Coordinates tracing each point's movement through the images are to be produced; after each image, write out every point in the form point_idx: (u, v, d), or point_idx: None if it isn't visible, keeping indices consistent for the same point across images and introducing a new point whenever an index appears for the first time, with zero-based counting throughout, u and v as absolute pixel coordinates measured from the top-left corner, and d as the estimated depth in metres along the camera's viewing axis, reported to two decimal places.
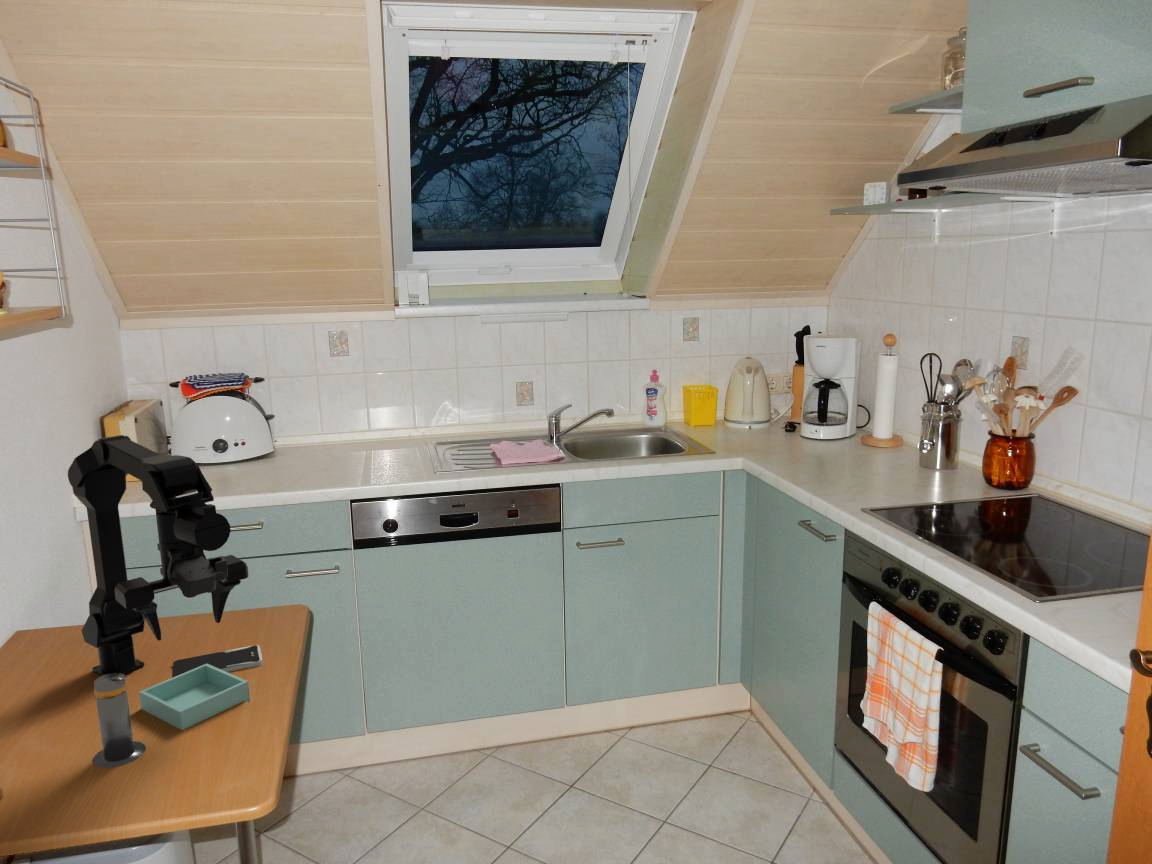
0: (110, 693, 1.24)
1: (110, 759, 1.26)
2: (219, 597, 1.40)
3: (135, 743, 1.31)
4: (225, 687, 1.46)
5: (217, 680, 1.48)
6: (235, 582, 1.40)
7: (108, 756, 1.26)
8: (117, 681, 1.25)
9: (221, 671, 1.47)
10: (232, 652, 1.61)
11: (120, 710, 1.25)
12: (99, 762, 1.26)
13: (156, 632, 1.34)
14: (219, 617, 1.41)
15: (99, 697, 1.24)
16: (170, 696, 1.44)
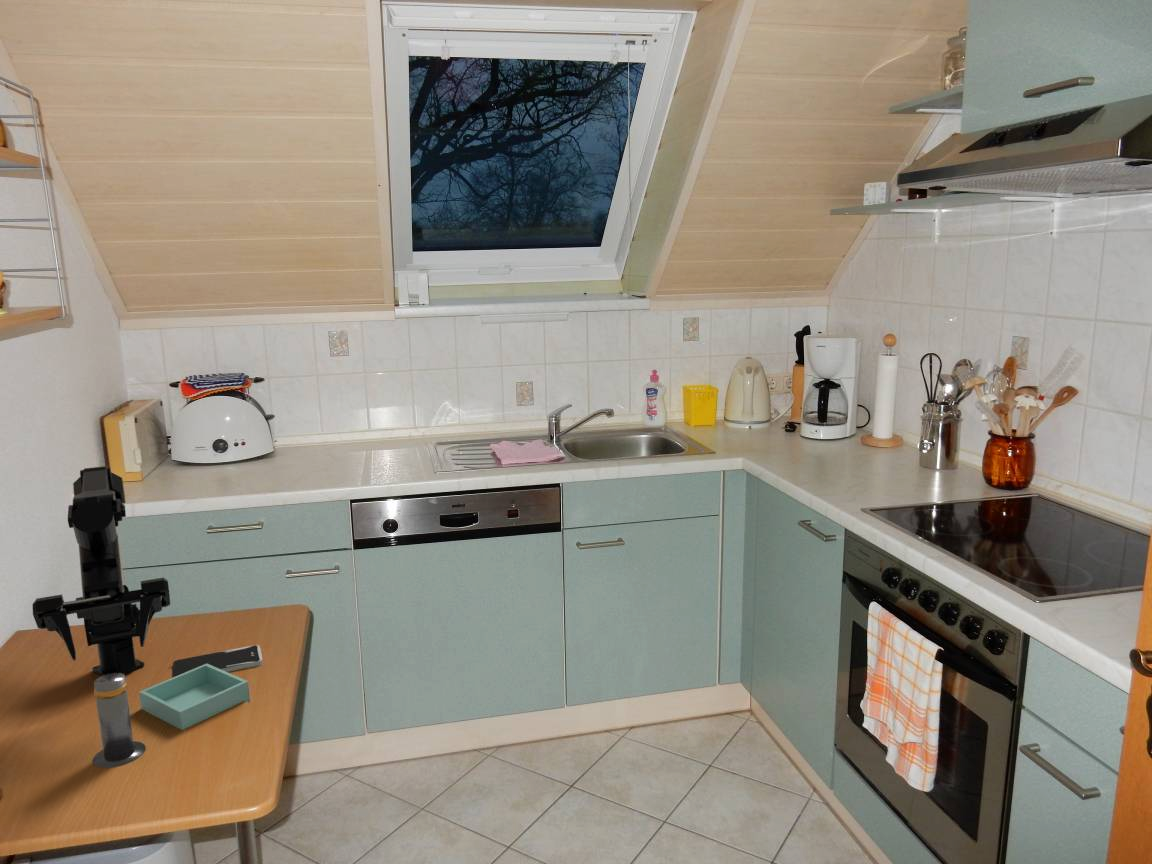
0: (110, 693, 1.24)
1: (110, 759, 1.26)
2: None
3: (135, 743, 1.31)
4: (225, 687, 1.46)
5: (217, 680, 1.48)
6: None
7: (108, 756, 1.26)
8: (117, 681, 1.25)
9: (221, 671, 1.47)
10: (232, 652, 1.61)
11: (120, 710, 1.25)
12: (99, 762, 1.26)
13: (144, 637, 1.36)
14: None
15: (99, 697, 1.24)
16: (170, 696, 1.44)
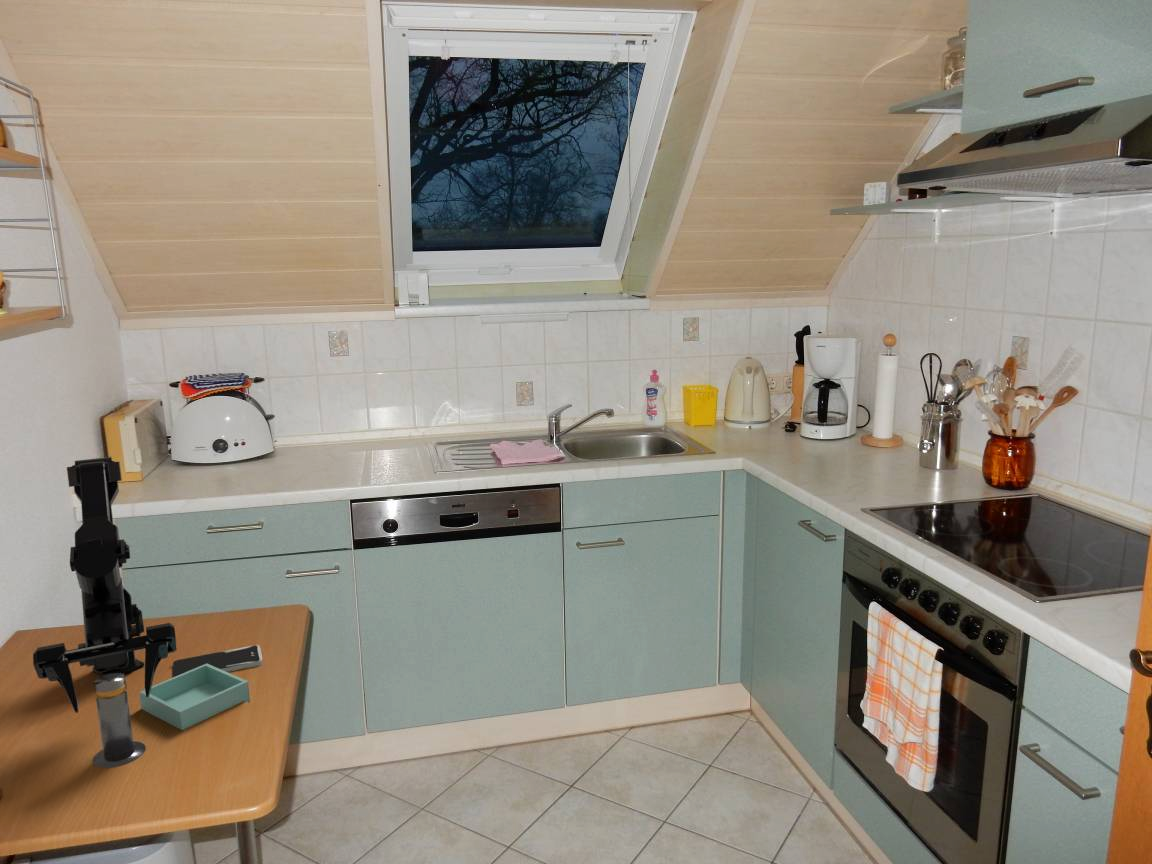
0: (110, 693, 1.24)
1: (110, 759, 1.26)
2: (73, 685, 1.27)
3: (135, 743, 1.31)
4: (225, 687, 1.46)
5: (217, 680, 1.48)
6: None
7: (108, 756, 1.26)
8: (117, 681, 1.25)
9: (221, 671, 1.47)
10: (232, 652, 1.61)
11: (120, 710, 1.25)
12: (99, 762, 1.26)
13: None
14: None
15: (99, 697, 1.24)
16: (170, 696, 1.44)
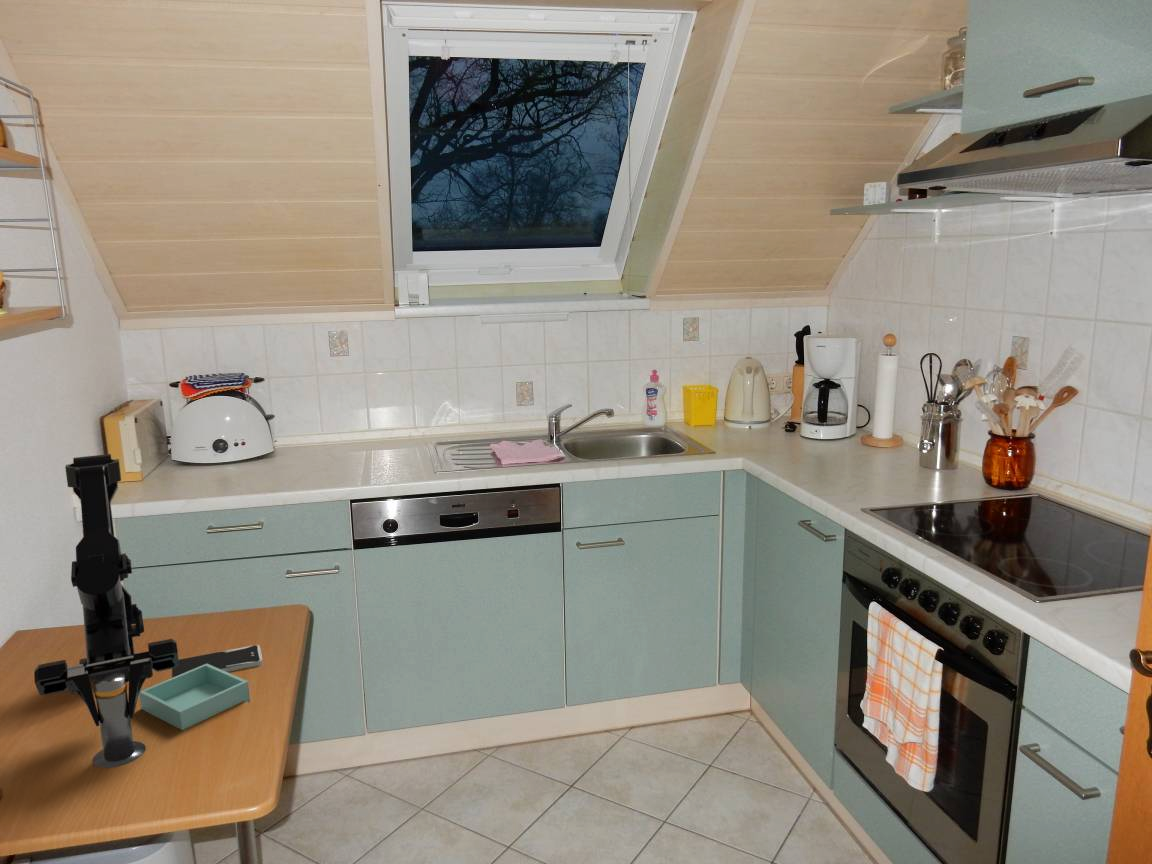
0: (110, 693, 1.24)
1: (110, 759, 1.26)
2: None
3: (135, 743, 1.31)
4: (225, 687, 1.46)
5: (217, 680, 1.48)
6: None
7: (108, 756, 1.26)
8: (117, 681, 1.25)
9: (221, 671, 1.47)
10: (232, 652, 1.61)
11: (120, 710, 1.25)
12: (99, 762, 1.26)
13: None
14: None
15: (99, 697, 1.24)
16: (170, 696, 1.44)
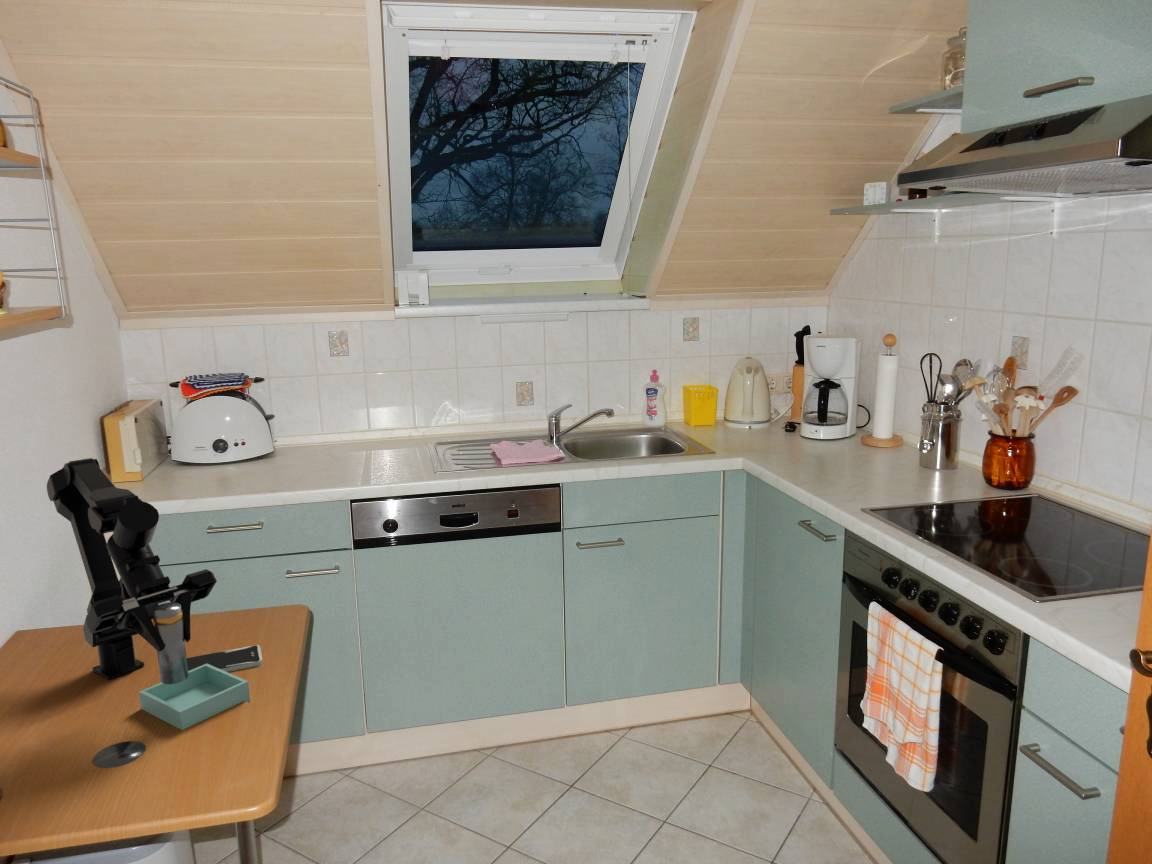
0: (174, 618, 1.33)
1: (172, 682, 1.35)
2: None
3: (135, 743, 1.31)
4: (225, 687, 1.46)
5: (217, 680, 1.48)
6: None
7: (169, 679, 1.35)
8: (177, 607, 1.34)
9: (221, 671, 1.47)
10: (232, 652, 1.61)
11: (181, 634, 1.35)
12: (99, 762, 1.26)
13: None
14: None
15: (162, 624, 1.33)
16: (170, 696, 1.44)
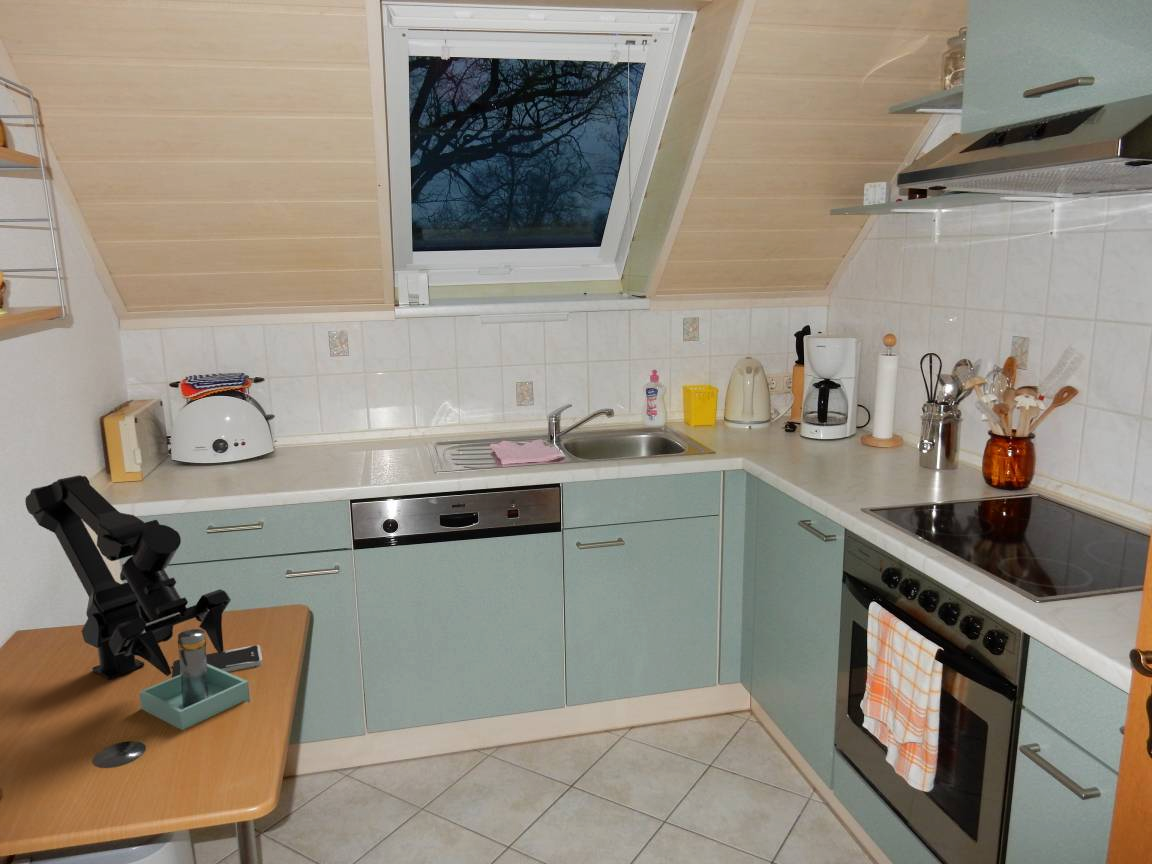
0: (199, 644, 1.39)
1: None
2: None
3: (135, 743, 1.31)
4: (225, 687, 1.46)
5: (217, 680, 1.48)
6: None
7: (192, 703, 1.40)
8: (202, 634, 1.40)
9: (221, 671, 1.47)
10: (232, 652, 1.61)
11: (204, 659, 1.41)
12: (99, 762, 1.26)
13: None
14: (163, 671, 1.37)
15: (188, 649, 1.39)
16: (170, 696, 1.44)
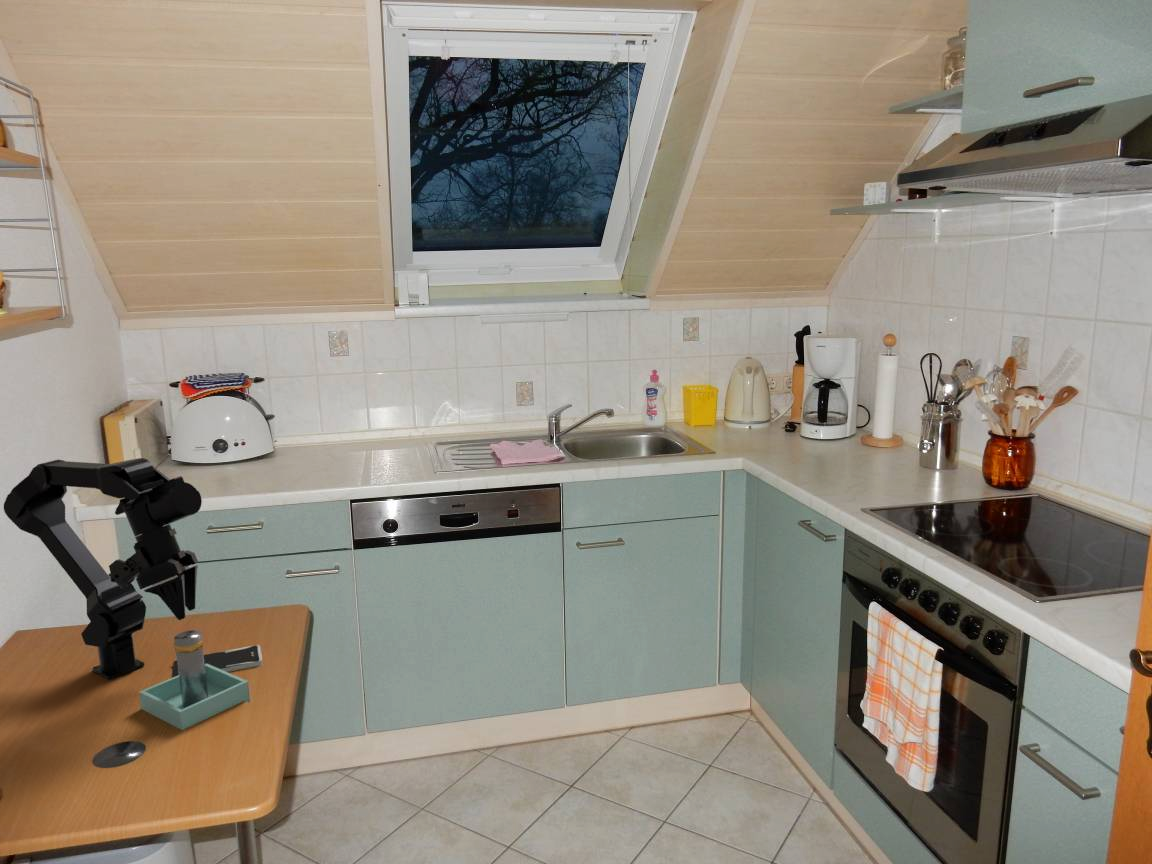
0: (195, 645, 1.39)
1: None
2: None
3: (135, 743, 1.31)
4: (225, 687, 1.46)
5: (217, 680, 1.48)
6: (146, 589, 1.40)
7: (192, 704, 1.40)
8: (198, 635, 1.40)
9: (221, 671, 1.47)
10: (232, 652, 1.60)
11: (202, 660, 1.40)
12: (99, 762, 1.26)
13: None
14: (176, 614, 1.43)
15: (185, 651, 1.38)
16: (170, 696, 1.44)
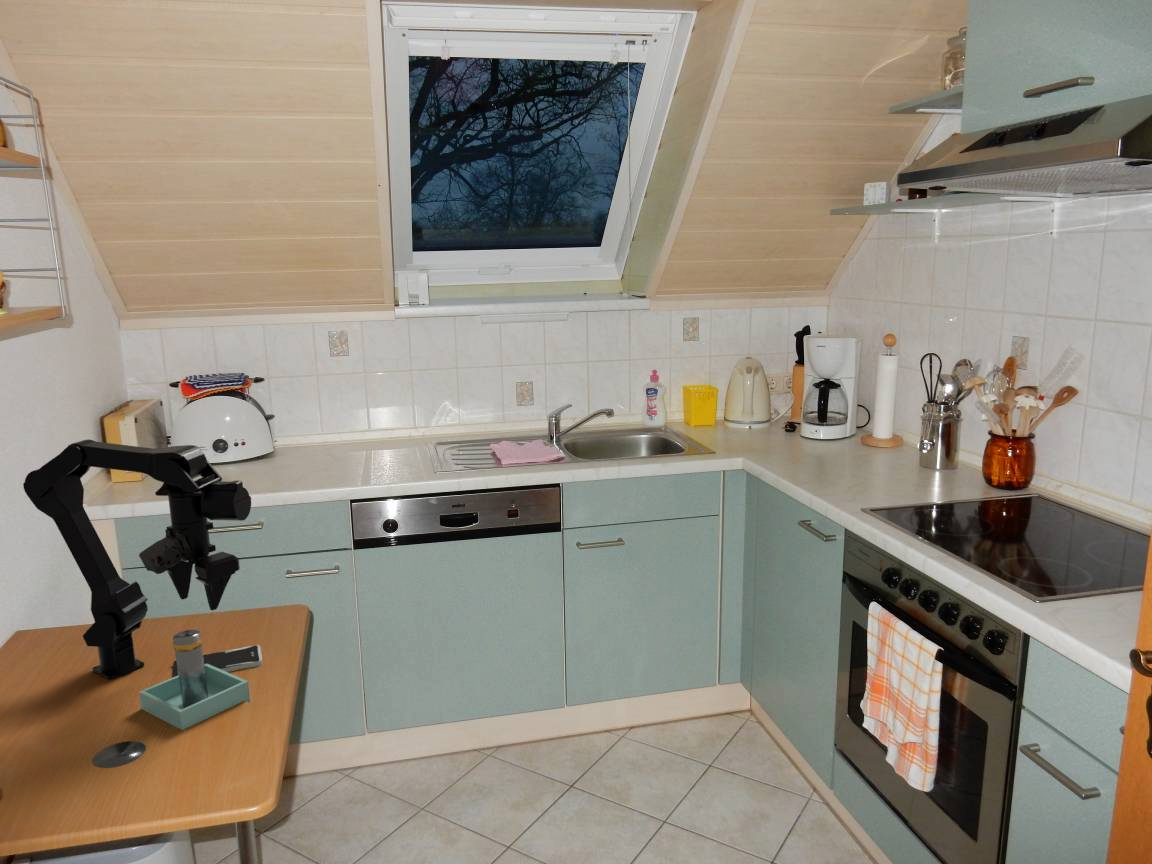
0: (194, 644, 1.39)
1: None
2: None
3: (135, 743, 1.31)
4: (225, 687, 1.46)
5: (217, 680, 1.48)
6: (204, 579, 1.45)
7: (192, 704, 1.40)
8: (197, 634, 1.40)
9: (221, 671, 1.47)
10: (232, 652, 1.60)
11: (201, 659, 1.41)
12: (99, 762, 1.26)
13: (177, 591, 1.54)
14: (210, 605, 1.49)
15: (184, 650, 1.38)
16: (170, 696, 1.44)
